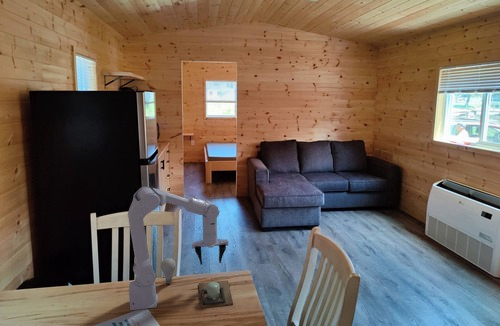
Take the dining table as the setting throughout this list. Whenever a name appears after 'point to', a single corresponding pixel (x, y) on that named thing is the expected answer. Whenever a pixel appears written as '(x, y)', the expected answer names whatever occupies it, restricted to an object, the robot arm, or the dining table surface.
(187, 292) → the dining table surface
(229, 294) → the board
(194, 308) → the dining table surface
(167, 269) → the lightbulb
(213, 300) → the dark grey square frame
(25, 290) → the dining table surface
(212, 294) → the pale green pear shape
